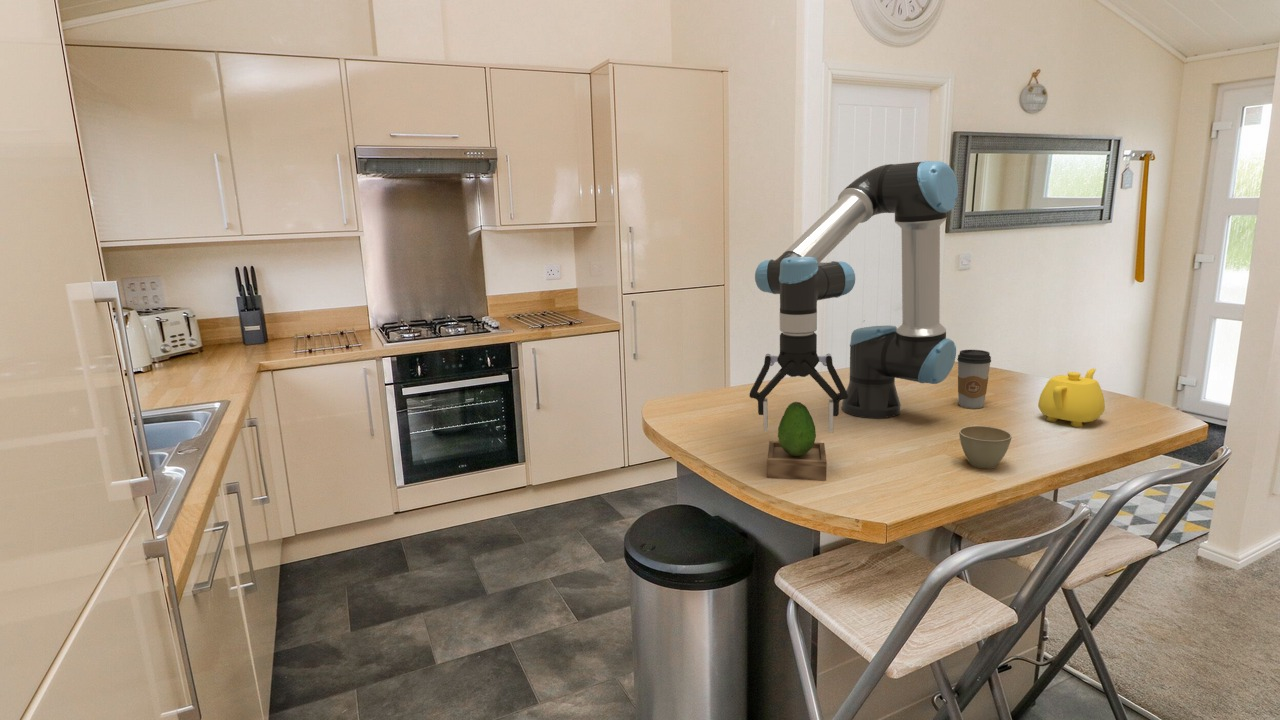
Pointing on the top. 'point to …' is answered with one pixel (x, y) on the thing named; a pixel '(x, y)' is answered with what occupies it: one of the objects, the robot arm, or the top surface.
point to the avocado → (796, 430)
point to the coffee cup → (973, 378)
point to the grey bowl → (984, 445)
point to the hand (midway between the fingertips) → (797, 429)
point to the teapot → (1072, 398)
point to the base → (796, 463)
